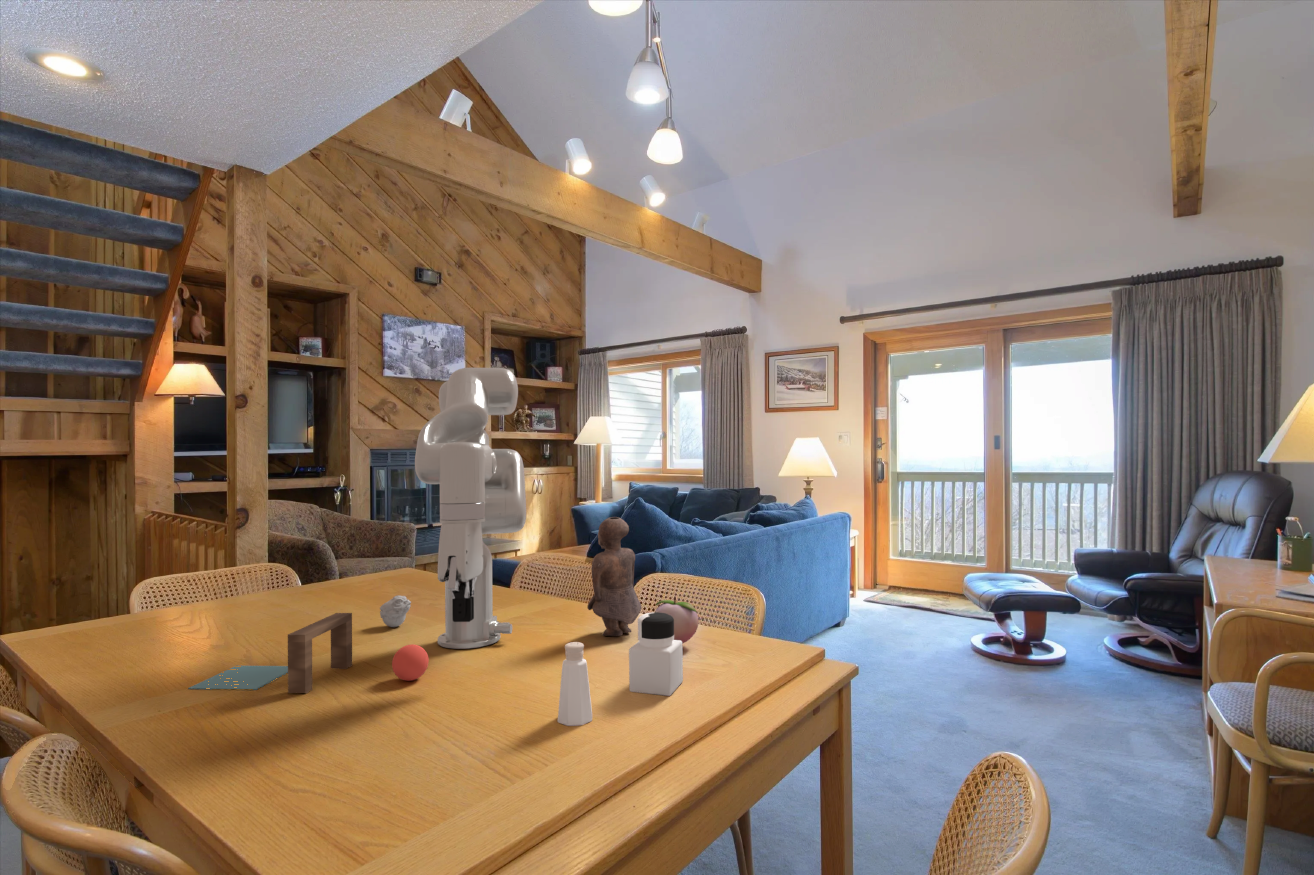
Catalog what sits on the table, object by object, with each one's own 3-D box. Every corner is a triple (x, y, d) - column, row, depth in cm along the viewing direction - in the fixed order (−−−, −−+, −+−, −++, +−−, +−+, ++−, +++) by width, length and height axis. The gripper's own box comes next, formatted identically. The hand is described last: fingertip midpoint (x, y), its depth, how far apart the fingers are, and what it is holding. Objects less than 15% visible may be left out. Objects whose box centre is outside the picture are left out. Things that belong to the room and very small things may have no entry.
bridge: (352, 665, 128) (351, 612, 129) (305, 693, 113) (305, 634, 114) (336, 664, 129) (336, 612, 129) (287, 693, 114) (287, 634, 114)
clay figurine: (616, 624, 156) (615, 513, 156) (652, 630, 150) (651, 515, 150) (578, 637, 145) (577, 518, 145) (615, 645, 139) (614, 521, 140)
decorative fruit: (645, 650, 135) (644, 599, 136) (660, 639, 143) (660, 591, 143) (690, 655, 132) (689, 602, 132) (703, 643, 140) (703, 594, 140)
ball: (434, 674, 123) (434, 640, 123) (420, 685, 117) (420, 650, 117) (401, 673, 123) (401, 640, 123) (385, 685, 117) (385, 649, 117)
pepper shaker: (563, 729, 98) (563, 651, 98) (551, 716, 103) (550, 642, 103) (599, 721, 100) (598, 645, 101) (585, 709, 105) (584, 637, 105)
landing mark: (298, 667, 128) (298, 666, 128) (256, 690, 116) (256, 688, 116) (236, 666, 128) (236, 665, 128) (188, 689, 116) (188, 687, 116)
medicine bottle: (683, 682, 117) (682, 611, 117) (670, 696, 110) (669, 621, 110) (643, 678, 119) (643, 608, 119) (628, 692, 113) (627, 618, 113)
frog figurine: (405, 630, 153) (405, 598, 153) (374, 630, 153) (374, 598, 153) (415, 623, 159) (415, 592, 159) (385, 623, 159) (385, 593, 159)
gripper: (457, 511, 127) (457, 611, 126) (423, 517, 112) (424, 631, 111) (497, 510, 127) (497, 611, 126) (468, 516, 112) (469, 631, 111)
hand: (463, 620), depth 119 cm, fingers closed
